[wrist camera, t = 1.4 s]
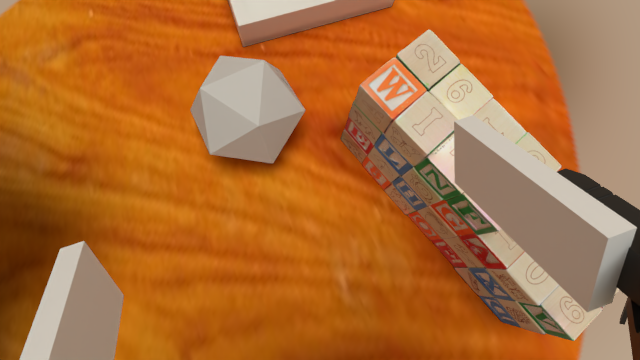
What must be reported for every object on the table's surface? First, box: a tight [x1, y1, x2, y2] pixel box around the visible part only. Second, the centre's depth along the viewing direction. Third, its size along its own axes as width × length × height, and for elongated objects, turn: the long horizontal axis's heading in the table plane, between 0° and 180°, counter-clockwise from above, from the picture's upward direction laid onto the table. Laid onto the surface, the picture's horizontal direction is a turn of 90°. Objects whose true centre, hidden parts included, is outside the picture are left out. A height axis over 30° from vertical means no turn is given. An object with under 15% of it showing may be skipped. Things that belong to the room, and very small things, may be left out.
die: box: [191, 56, 305, 164], centre depth 34 cm, size 8×9×10 cm
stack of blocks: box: [341, 30, 619, 341], centre depth 31 cm, size 21×6×12 cm, turn 41°
